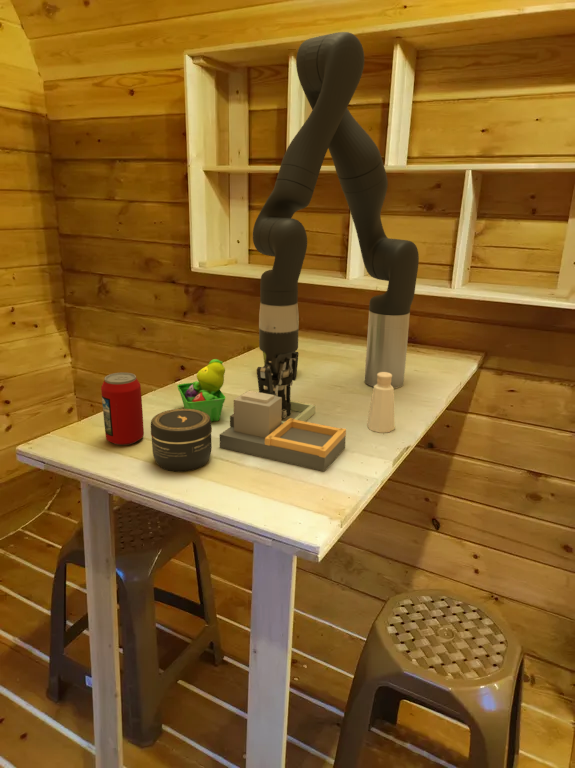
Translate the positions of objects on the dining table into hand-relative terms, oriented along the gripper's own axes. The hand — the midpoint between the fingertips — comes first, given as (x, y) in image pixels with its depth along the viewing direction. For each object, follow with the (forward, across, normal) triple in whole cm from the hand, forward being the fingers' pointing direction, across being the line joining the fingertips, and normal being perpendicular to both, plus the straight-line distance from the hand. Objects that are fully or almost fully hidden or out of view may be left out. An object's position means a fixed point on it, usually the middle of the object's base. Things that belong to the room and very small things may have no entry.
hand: (278, 407), depth 117 cm
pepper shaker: (+2, +5, -20) cm, 21 cm away
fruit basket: (+2, -5, +14) cm, 15 cm away
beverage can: (+2, -22, +20) cm, 30 cm away
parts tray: (+2, 0, 0) cm, 2 cm away
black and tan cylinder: (+2, 0, 0) cm, 2 cm away
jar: (+2, -24, +6) cm, 25 cm away
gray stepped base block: (+2, -12, -7) cm, 14 cm away
